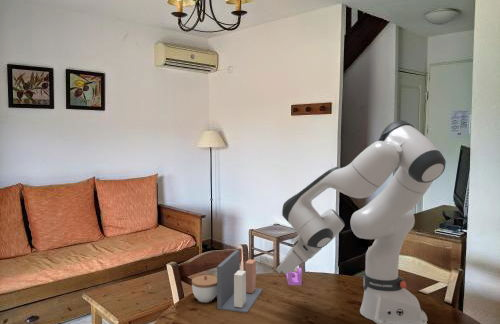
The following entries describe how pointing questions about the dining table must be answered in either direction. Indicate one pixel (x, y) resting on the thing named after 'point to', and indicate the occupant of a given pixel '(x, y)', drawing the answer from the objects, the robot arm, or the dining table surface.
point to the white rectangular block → (239, 288)
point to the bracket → (297, 279)
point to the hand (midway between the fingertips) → (278, 270)
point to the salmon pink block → (250, 275)
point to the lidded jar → (204, 287)
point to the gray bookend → (231, 285)
